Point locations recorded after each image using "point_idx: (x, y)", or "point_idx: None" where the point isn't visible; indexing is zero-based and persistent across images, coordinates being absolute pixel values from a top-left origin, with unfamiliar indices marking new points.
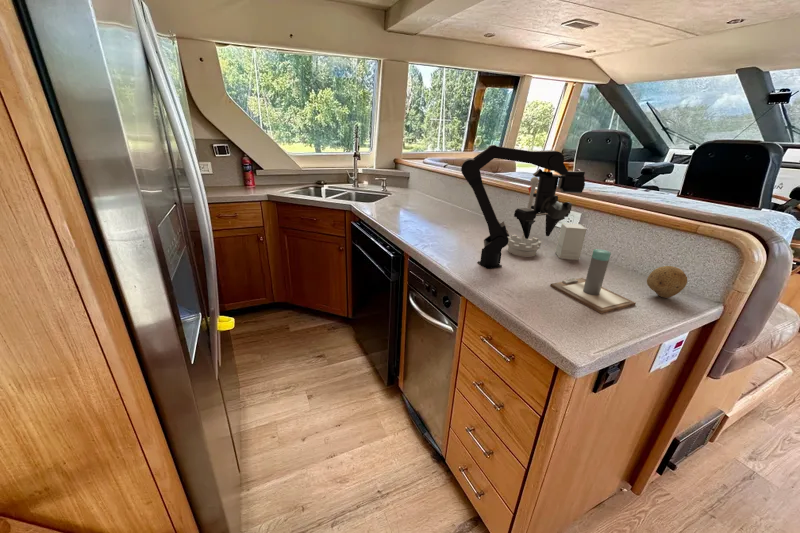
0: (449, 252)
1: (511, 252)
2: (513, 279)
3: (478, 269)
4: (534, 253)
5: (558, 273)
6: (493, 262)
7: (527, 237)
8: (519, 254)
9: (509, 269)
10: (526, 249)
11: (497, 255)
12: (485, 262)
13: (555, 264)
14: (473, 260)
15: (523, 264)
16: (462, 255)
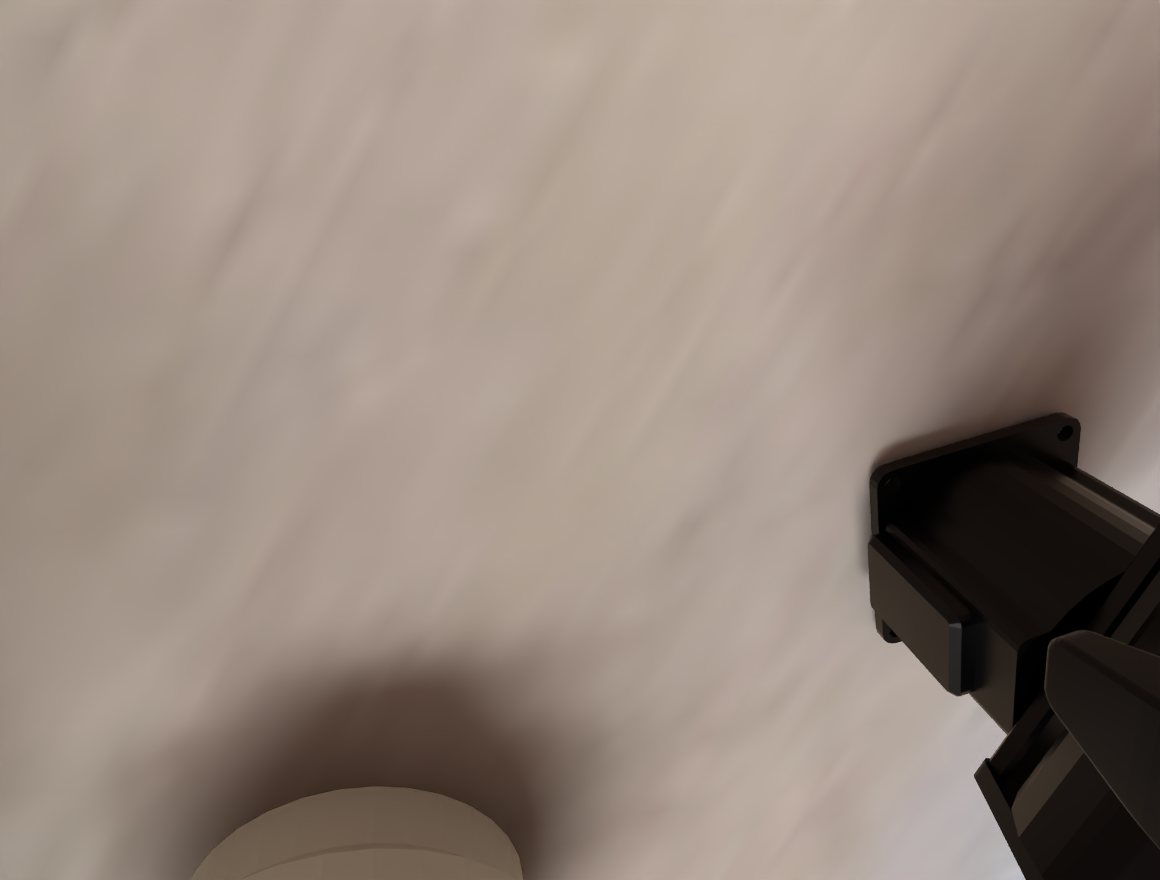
0: None
1: (517, 862)
2: (968, 81)
3: (1144, 417)
4: (241, 850)
5: (156, 229)
6: (1041, 477)
7: (1128, 645)
8: (455, 814)
9: (816, 407)
10: (404, 858)
11: (1068, 539)
12: (1111, 489)
13: (46, 566)
14: None
15: (546, 556)
16: None
